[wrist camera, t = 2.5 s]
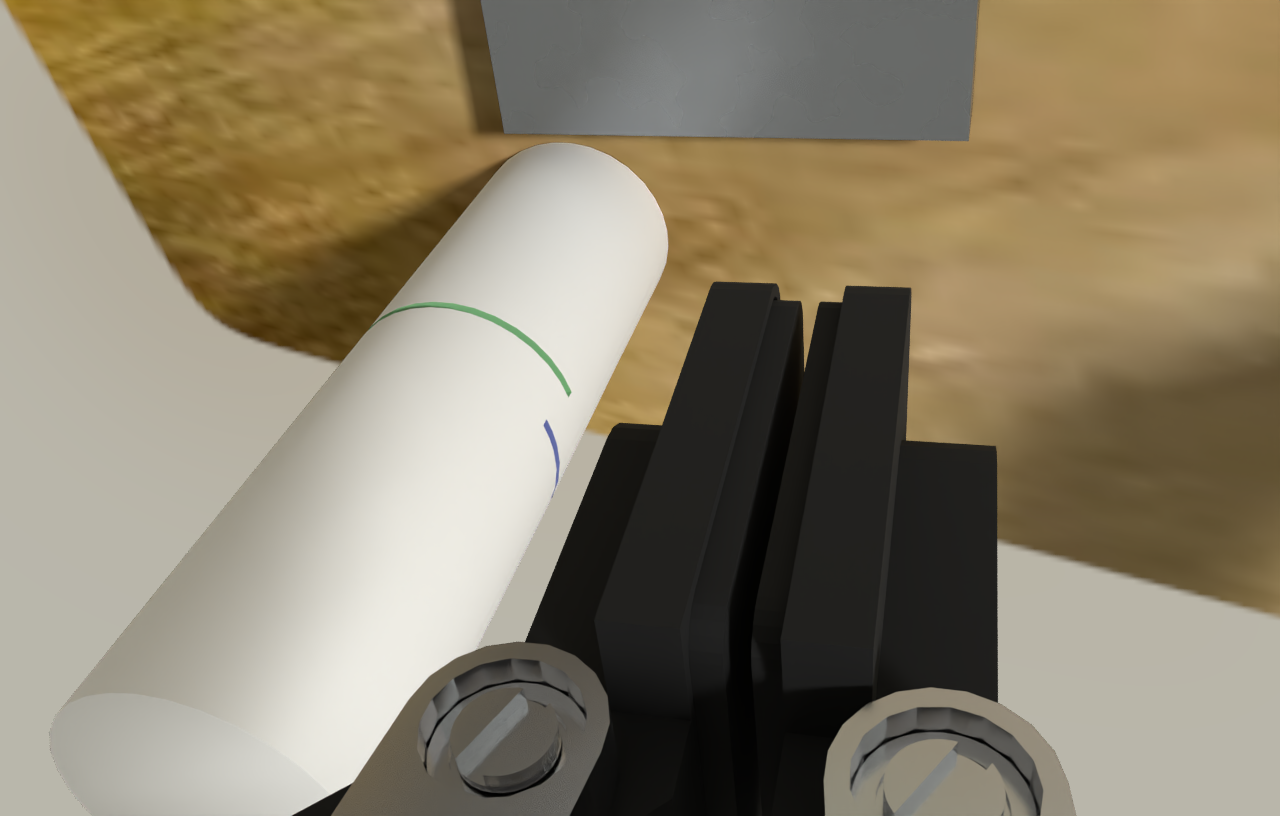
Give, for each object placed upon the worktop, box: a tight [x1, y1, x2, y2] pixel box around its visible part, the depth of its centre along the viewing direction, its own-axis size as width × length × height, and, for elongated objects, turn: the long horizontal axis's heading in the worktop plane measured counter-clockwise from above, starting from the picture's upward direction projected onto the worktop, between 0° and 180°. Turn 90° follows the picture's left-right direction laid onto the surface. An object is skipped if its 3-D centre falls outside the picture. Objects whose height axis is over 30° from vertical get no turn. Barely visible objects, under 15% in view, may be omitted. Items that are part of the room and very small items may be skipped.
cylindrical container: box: [49, 143, 668, 816], centre depth 34 cm, size 7×7×25 cm
